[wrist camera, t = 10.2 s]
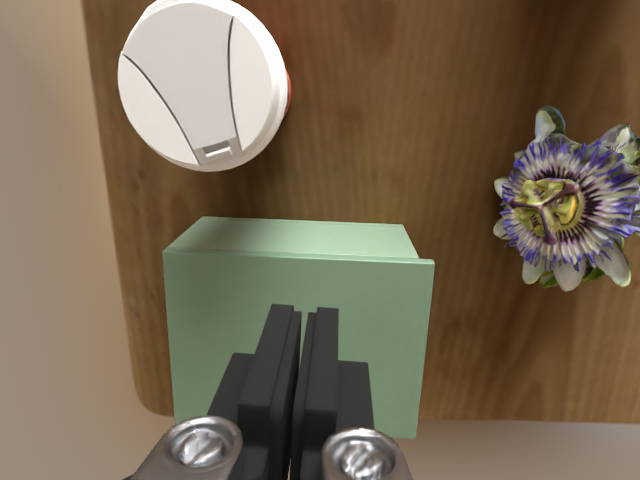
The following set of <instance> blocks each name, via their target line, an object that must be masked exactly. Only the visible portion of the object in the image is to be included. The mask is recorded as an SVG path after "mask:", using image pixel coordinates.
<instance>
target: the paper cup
mask: <svg viewBox="0 0 640 480" xmlns="http://www.w3.org/2000/svg"><path fill="white" fill-rule="evenodd" d="M118 87H119V93H120V98H121V101H122V104H123V107H124V110H125V112H126V114H127V117H128V119H129V121H130V122H131V124H132V125H133V127H134V128H135V130H136V131H137V133H138V134H139V135H140V136H141V138H142V139H143V140H144V141H145V142H146V143H147V144H148V146H150V147H151V148H152V149H153V150H154V151H155V152H157V153H158V154H159V155H160V156H162V157H164V158H165V159H167V160H168V161H170V162H172V163H174V164H177V165H179V166H181V167H184V168H188V169H191V170H196V171H205V172H212V171H222V170H227V169H232V168H234V167H237V166H239V165H242V164H244V163H246V162H247V161H249V160H251V159H252V158H254V157H255V156H256V155H258V154H259V153H260V152H261V151H262V150H263V149H264V148H265V147H266V146H267V145H268V144H269V142H270V141H271V140H272V138H273V137H274V135H275V133H276V132H277V130H278V128H279V126H280V123H281V121H282V119H283V117H284V116H285V114H286V113H287V111H288V109H289V106H290V102H291V96H292V88H291V82H290V78H289V75H288V73H287V71H286V69H285V66H284V62H283V59H282V56H281V54H280V51H279V48H278V46H277V45H276V43H275V41H274V39H273V37H272V36H271V34H270V33H269V32H268V30H267V29H266V28H265V26H264V25H263V24H262V23H261V22H260V21H259V20H258V19H257V18H256V17H255V16H254V15H253V14H252V13H250V12H249V11H248V10H246V9H245V8H243V7H242V6H240V5H239V4H237V3H235V2H233V1H230V0H157V1H156V2H154V3H153V4H151V5H150V6H148V7H147V9H146V10H145V12H144V13H143V15H142V16H141V18H140V19H139V21H138V22H137V24H136V25H135V27H134V28H133V29H132V31H131V33H130V35H129V37H128V39H127V41H126V43H125V46H124V49H123V51H122V52H121V55H120V58H119V66H118Z"/></svg>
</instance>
